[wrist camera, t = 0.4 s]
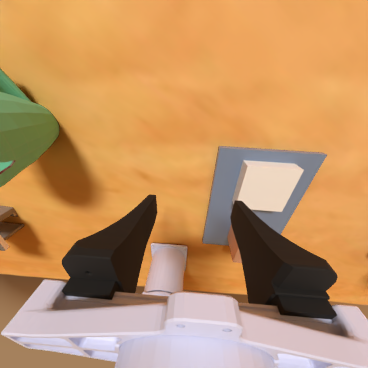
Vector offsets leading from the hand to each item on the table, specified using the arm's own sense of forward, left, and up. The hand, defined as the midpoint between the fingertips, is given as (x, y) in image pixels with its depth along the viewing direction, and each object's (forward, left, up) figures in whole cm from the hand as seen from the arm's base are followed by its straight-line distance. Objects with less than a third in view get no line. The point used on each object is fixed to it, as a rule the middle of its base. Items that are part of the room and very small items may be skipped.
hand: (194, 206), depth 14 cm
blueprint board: (-7, -10, -10) cm, 16 cm away
